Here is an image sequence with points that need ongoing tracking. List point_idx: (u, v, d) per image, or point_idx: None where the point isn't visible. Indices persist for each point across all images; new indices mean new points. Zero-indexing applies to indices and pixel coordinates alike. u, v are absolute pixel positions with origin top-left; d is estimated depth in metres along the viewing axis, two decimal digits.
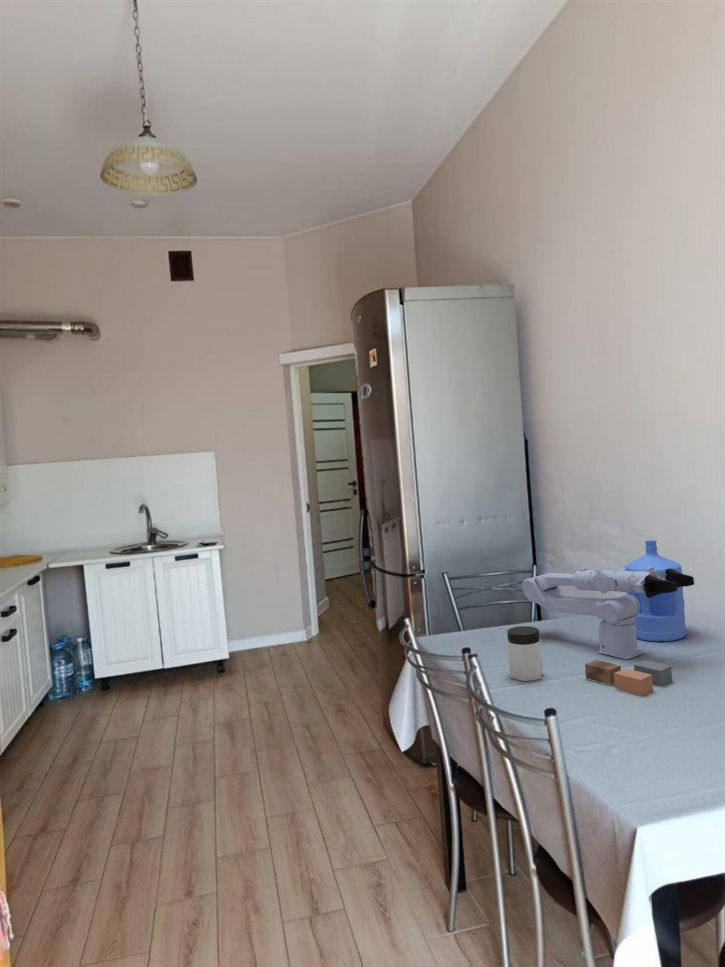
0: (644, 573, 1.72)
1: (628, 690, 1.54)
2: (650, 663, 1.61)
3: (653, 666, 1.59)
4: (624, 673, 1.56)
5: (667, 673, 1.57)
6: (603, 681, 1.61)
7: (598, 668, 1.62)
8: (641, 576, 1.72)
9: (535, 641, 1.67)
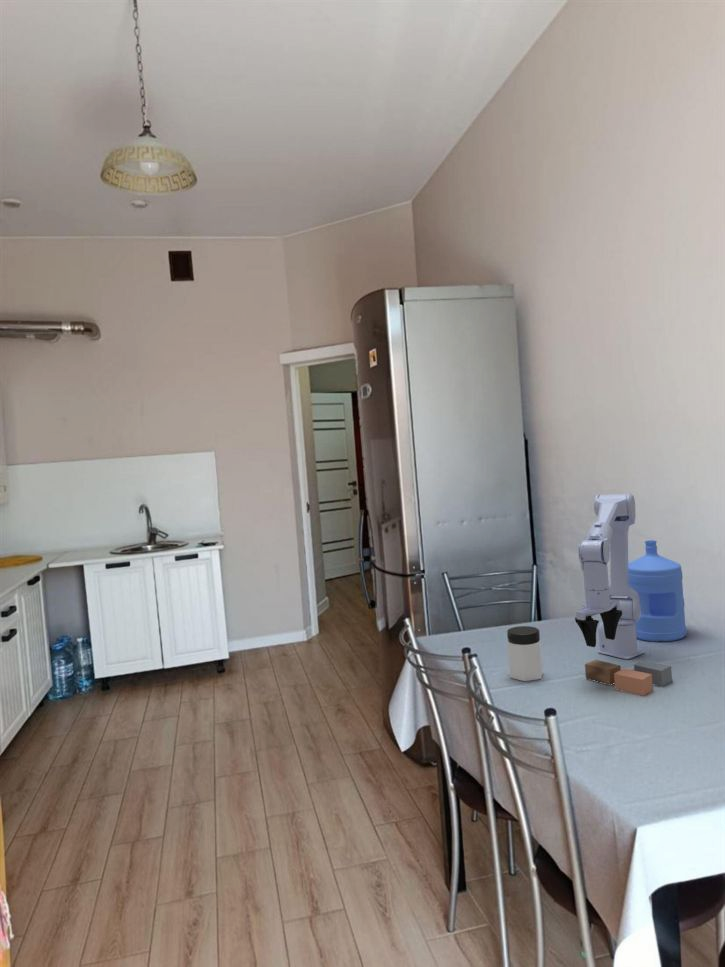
0: None
1: (629, 690, 1.54)
2: (650, 663, 1.61)
3: (654, 666, 1.59)
4: (624, 673, 1.56)
5: (667, 673, 1.57)
6: (603, 681, 1.61)
7: (598, 668, 1.62)
8: None
9: (535, 641, 1.67)
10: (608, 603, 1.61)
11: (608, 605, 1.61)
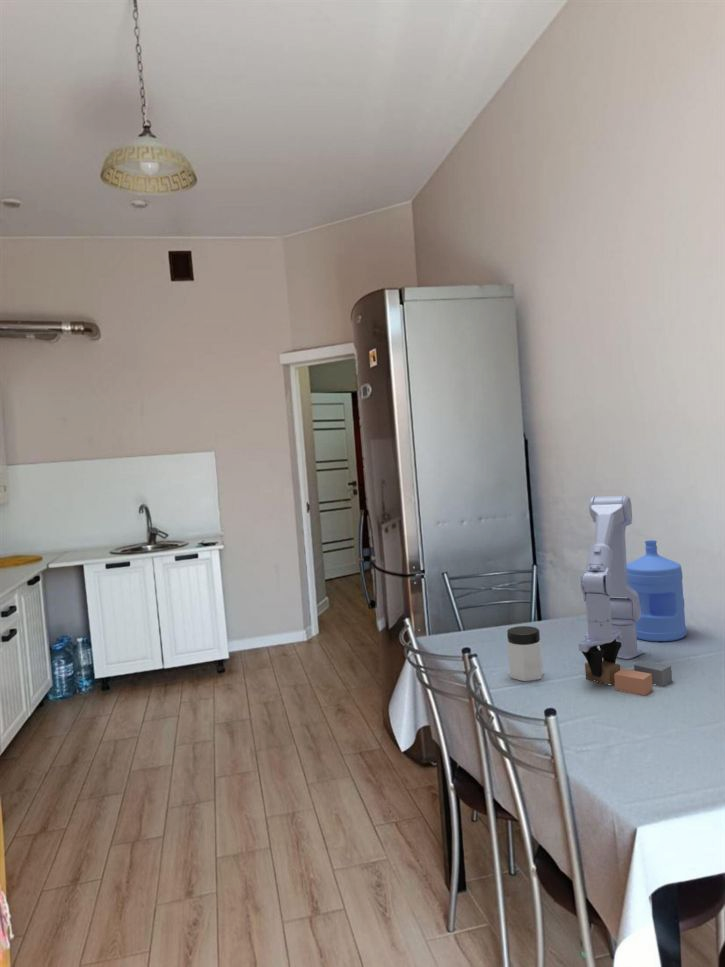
0: None
1: (630, 690, 1.54)
2: (650, 663, 1.61)
3: (654, 666, 1.59)
4: (624, 673, 1.56)
5: (667, 673, 1.58)
6: (603, 680, 1.61)
7: None
8: None
9: (535, 641, 1.67)
10: (610, 634, 1.61)
11: (610, 636, 1.61)
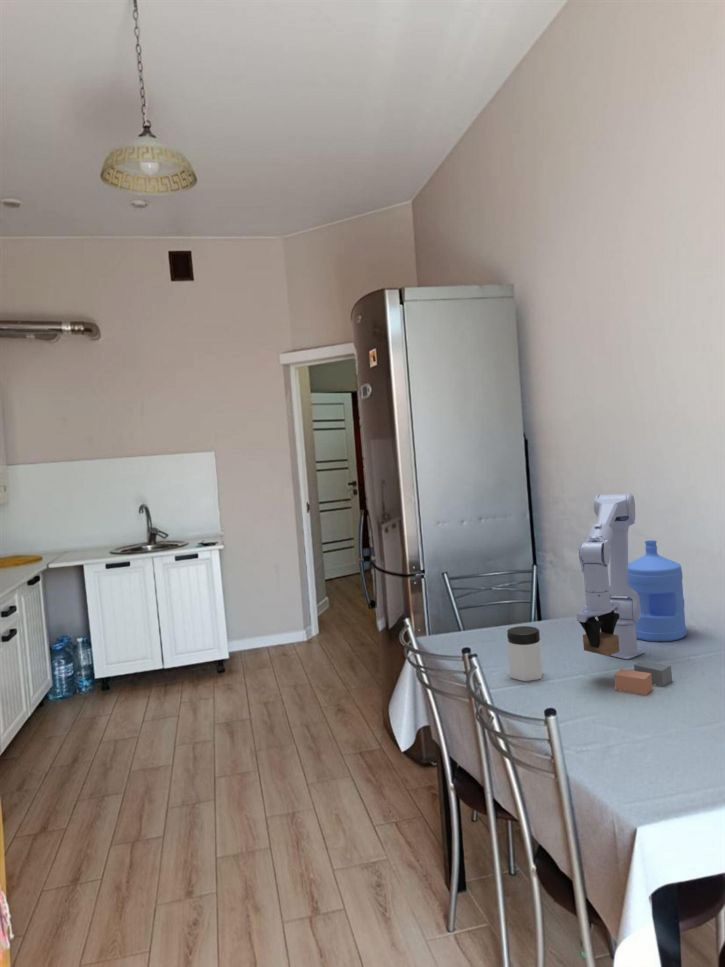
0: None
1: (631, 690, 1.54)
2: (650, 663, 1.61)
3: (654, 666, 1.59)
4: (624, 673, 1.56)
5: (667, 673, 1.58)
6: (601, 651, 1.61)
7: None
8: None
9: (535, 641, 1.67)
10: (608, 605, 1.61)
11: (608, 607, 1.61)
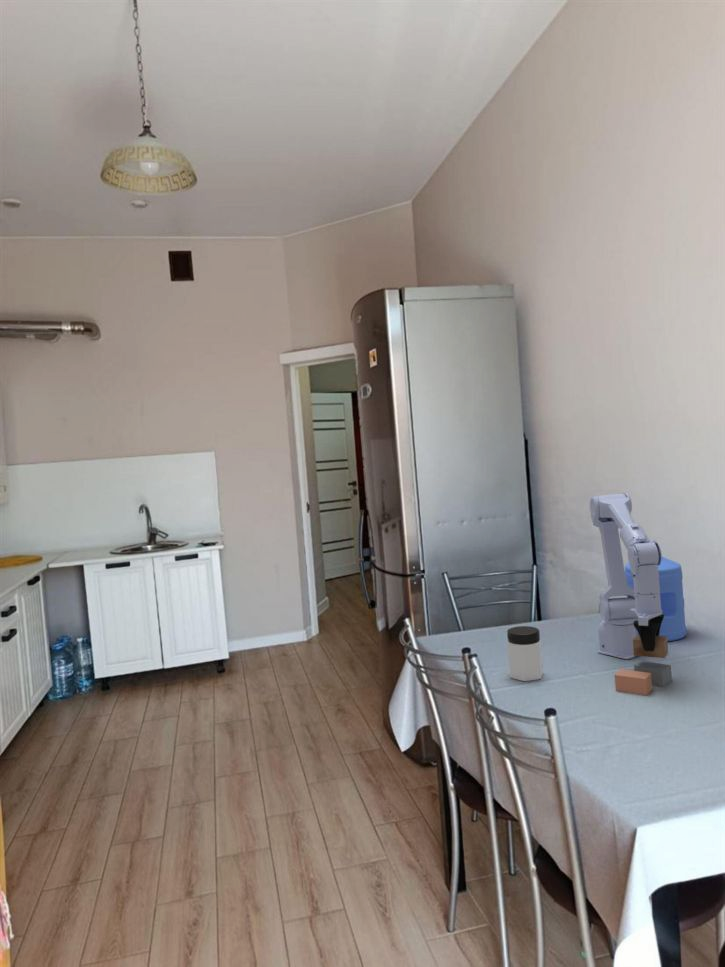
0: None
1: (631, 690, 1.54)
2: (649, 663, 1.61)
3: (654, 666, 1.59)
4: (624, 673, 1.56)
5: (668, 673, 1.58)
6: (656, 654, 1.57)
7: None
8: None
9: (535, 641, 1.67)
10: (660, 606, 1.58)
11: (660, 608, 1.58)
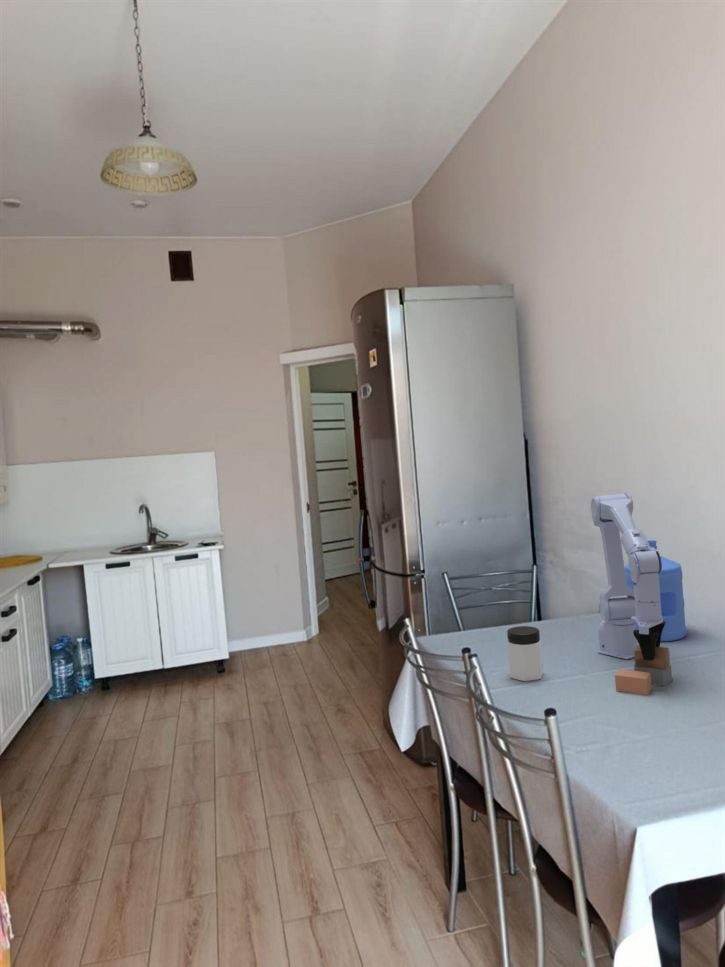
0: None
1: (632, 691, 1.54)
2: None
3: None
4: (624, 674, 1.56)
5: (668, 672, 1.58)
6: (657, 665, 1.57)
7: None
8: None
9: (535, 641, 1.67)
10: (661, 614, 1.58)
11: (661, 616, 1.58)
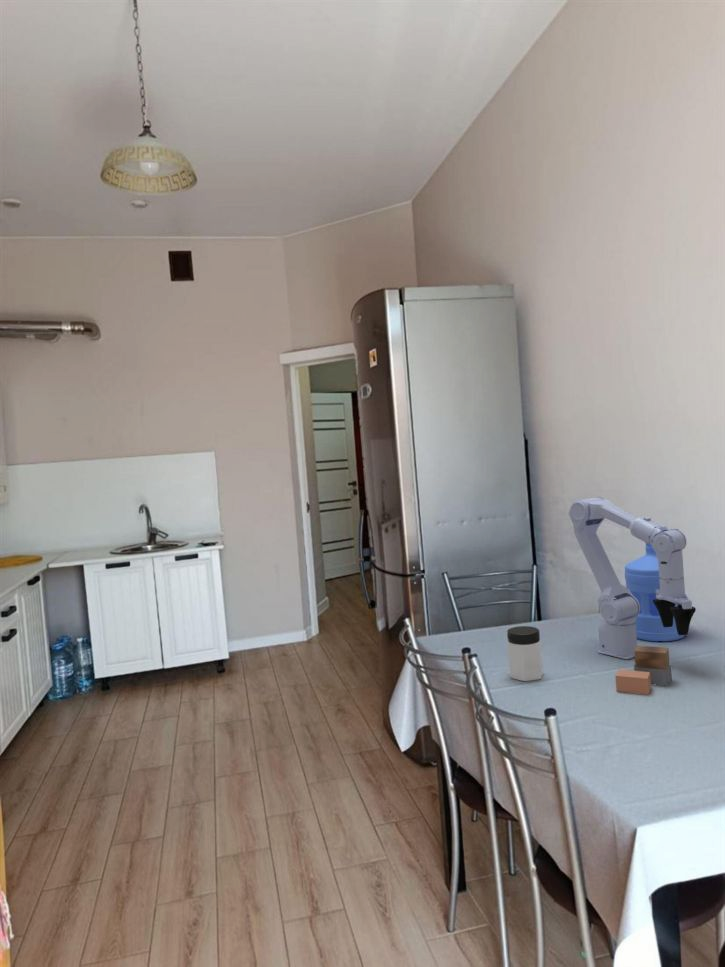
0: (660, 591, 1.68)
1: (632, 691, 1.54)
2: None
3: None
4: (624, 674, 1.56)
5: (668, 672, 1.58)
6: (658, 666, 1.57)
7: (652, 653, 1.57)
8: None
9: (535, 641, 1.67)
10: None
11: None
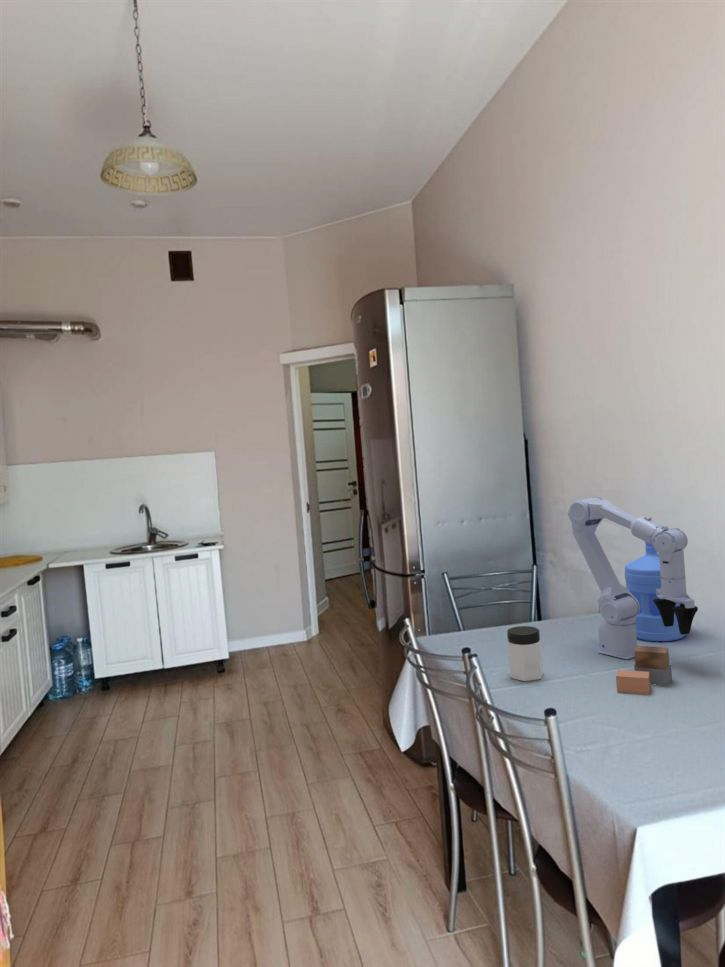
0: (661, 591, 1.68)
1: (633, 691, 1.54)
2: None
3: None
4: (624, 674, 1.56)
5: (668, 672, 1.58)
6: (658, 666, 1.57)
7: (652, 653, 1.57)
8: None
9: (535, 641, 1.67)
10: None
11: None
